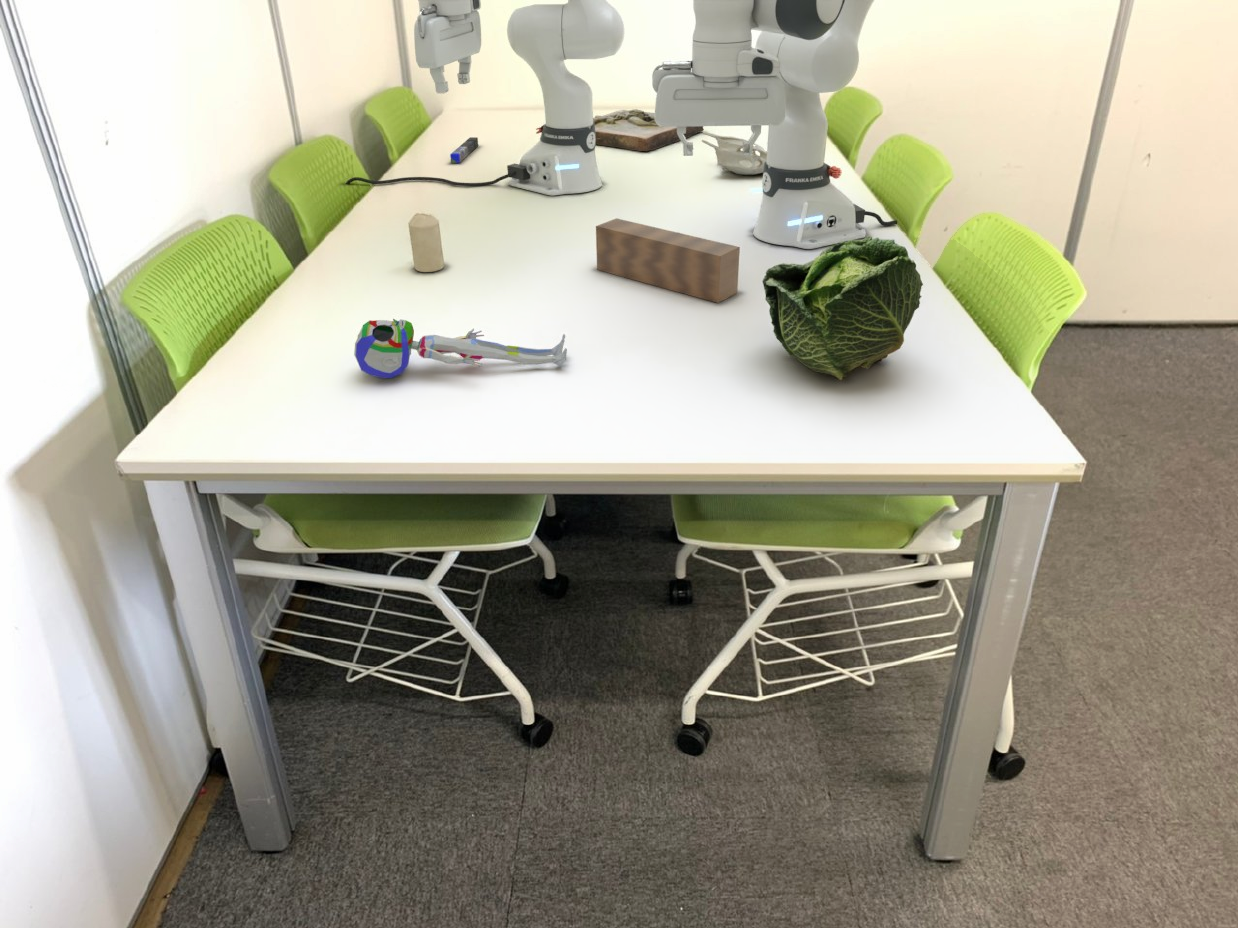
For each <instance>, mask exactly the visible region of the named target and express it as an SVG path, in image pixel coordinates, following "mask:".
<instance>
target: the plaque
mask: <svg viewBox="0 0 1238 928" xmlns="http://www.w3.org/2000/svg"><path fill="white" fill-rule="evenodd" d="M593 123H594V124H595V133H596V144H595V145H597V146H598V145H599V146H607V147H612V148H620V149H625V150H632V151H640V152H648V151H654V150H656V149H659V148H662V147H663V146H664V147H665V146H667V145H670V144H672V143H676V142H681V140H680V138H679V136H678V135H677V127H660V126H658V124H657V123H656V122H655V112H650V111H644V110H642V109H637V108H636V109H635V108H634V109H630V110H629V109H620V110H616V111H613V112H610V113H608V114H602V115H594V117H593ZM704 130H705V129H704V126H688V127H686V133H685V134H684V136H685V138H686V139H687V138H691V137H692V136H694V135H696V134H698V133H700V132H705V131H704Z"/></svg>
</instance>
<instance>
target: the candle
mask: <svg viewBox="0 0 1238 928" xmlns="http://www.w3.org/2000/svg"><path fill="white" fill-rule="evenodd" d="M407 225H408V232H409V238H410V246H411V253H412V260H413V266H414V269H415V270H416V271H417V272H421V273H432V272H437V271H440V270H442V269H443V268H444V267H445V261H444V260H445V259H444V253H443V252H444V251H443V245H442V236H441V227H440V221H439V219H438V218H436V217H435V216H433V215H432V214H428V213H419V212H416V213H415V214H414V215H413V216H412V218H411V219H410V220H409V222H408V223H407Z"/></svg>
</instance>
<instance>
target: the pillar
mask: <svg viewBox="0 0 1238 928" xmlns="http://www.w3.org/2000/svg"><path fill="white" fill-rule="evenodd" d="M478 146H479V138H478V137H468V138H467V139H466V140H464V141H463V143H462V144H460V145H459V146H458V147H457V148H456V149H454V151H452V152H451V153H450V154H449V155H450V164H460V163H461V162H462V161H463V160H465V159H466V158H467V157H468V156H469V155H470V154H471V153H472V152H473V151H474V150H476V148H478Z"/></svg>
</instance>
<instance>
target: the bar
mask: <svg viewBox="0 0 1238 928" xmlns="http://www.w3.org/2000/svg"><path fill="white" fill-rule="evenodd" d="M595 243H596V244H595V245H596V247H595V249H596V270H597V271H600V272H604V273H607V274H612V275H615V276H617V277H618V276H619V277H623V278H626V279H630V280H633V281H637V282H641V283H645V284H647V285H651V286H655V287H659V288H662V289H666V290H669V291H672V292H677V293H680V294H683V295H688V296H691V297H695V298H698V299H701V300H705V301H709V302H713V303H716V304H720V303H721V302H723V301H725V300H727V299H728V298H730V297H733V296H734V295H737V294H738V287H739V285H738V283H739V270H740V269H739V266H740V253H741V252H740V250H741V246H737V245H733V244H728V243H724V242H719V241H715V240H712V239H707V238H702V237H698V236H694V235H689V234H686V233H681V232H678V231H672V230H669V229H664V228H659V227H655V226H651V225H646V224H642V223H639V222H634V221H630V220H626V219H621V218H613V219H611V220H608V221H605V222H603V223H600V224H598V225H595Z"/></svg>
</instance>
